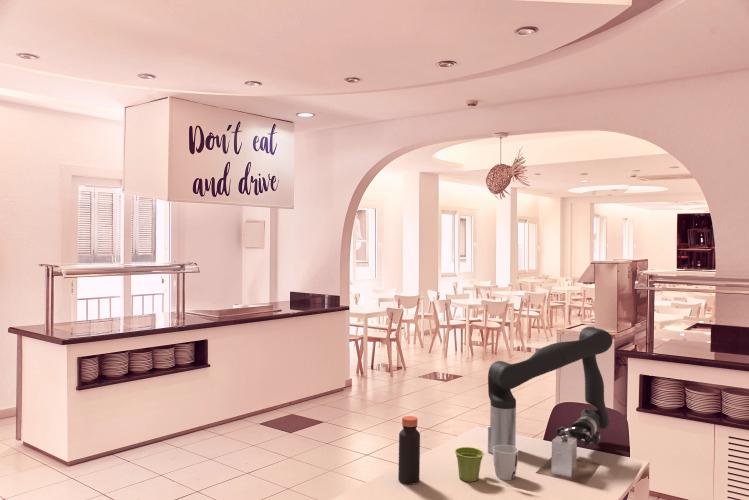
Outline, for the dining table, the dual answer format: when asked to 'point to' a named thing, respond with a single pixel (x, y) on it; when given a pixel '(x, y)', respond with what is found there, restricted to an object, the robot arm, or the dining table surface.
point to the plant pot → (469, 463)
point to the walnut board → (582, 471)
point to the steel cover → (564, 456)
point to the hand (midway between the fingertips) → (572, 439)
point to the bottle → (409, 451)
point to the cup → (505, 461)
